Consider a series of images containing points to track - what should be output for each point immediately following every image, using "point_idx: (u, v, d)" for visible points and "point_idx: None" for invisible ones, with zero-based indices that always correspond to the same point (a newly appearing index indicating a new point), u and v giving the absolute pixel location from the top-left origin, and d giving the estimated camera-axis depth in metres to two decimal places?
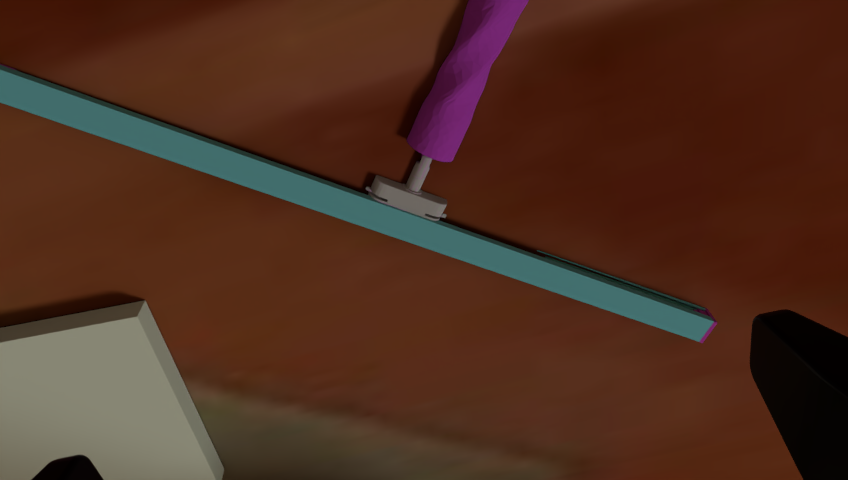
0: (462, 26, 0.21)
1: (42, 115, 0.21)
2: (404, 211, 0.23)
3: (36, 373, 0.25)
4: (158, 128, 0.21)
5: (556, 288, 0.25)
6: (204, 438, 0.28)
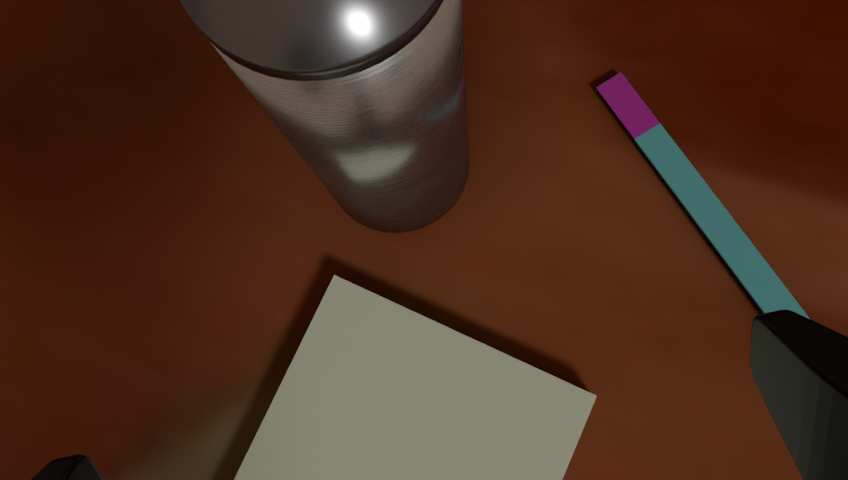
0: None
1: (670, 184, 0.23)
2: None
3: (442, 381, 0.21)
4: (754, 254, 0.22)
5: None
6: None
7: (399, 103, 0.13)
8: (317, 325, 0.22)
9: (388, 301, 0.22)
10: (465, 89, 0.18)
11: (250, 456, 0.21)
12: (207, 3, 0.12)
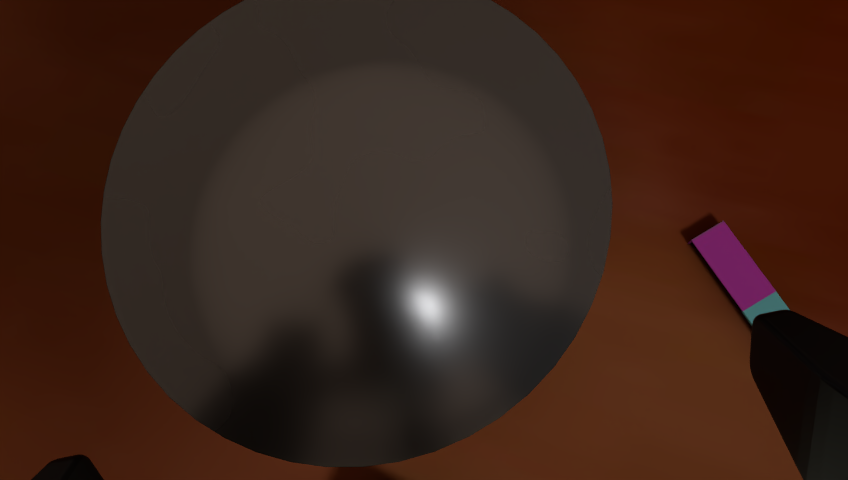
0: None
1: None
2: None
3: None
4: None
5: None
6: None
7: None
8: None
9: None
10: None
11: None
12: (166, 325, 0.07)
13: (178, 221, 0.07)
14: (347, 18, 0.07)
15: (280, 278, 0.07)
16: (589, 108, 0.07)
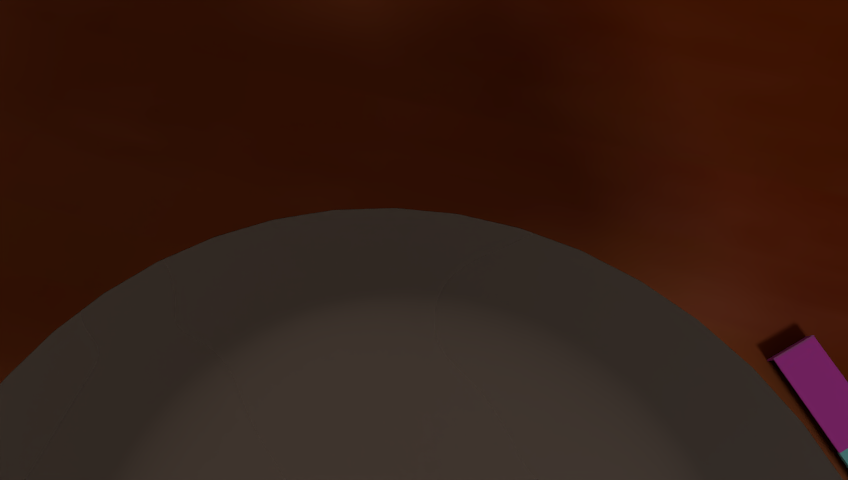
0: None
1: None
2: None
3: None
4: None
5: None
6: None
7: None
8: None
9: None
10: None
11: None
12: None
13: None
14: (353, 318, 0.04)
15: None
16: None
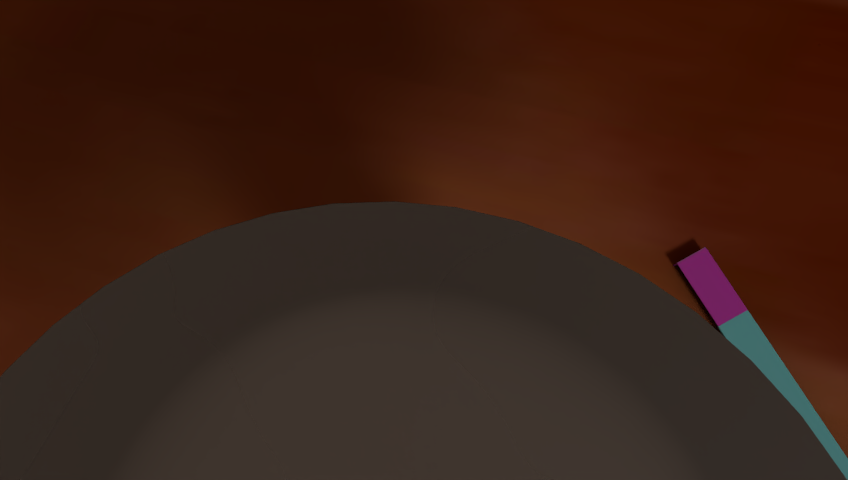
0: None
1: None
2: None
3: None
4: None
5: None
6: None
7: None
8: None
9: None
10: None
11: None
12: None
13: None
14: (351, 310, 0.03)
15: None
16: None
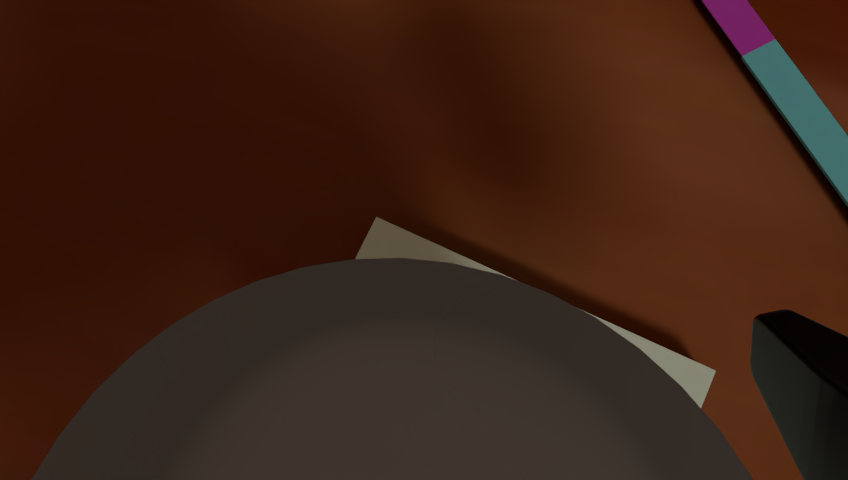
0: None
1: (785, 114, 0.18)
2: None
3: None
4: None
5: None
6: None
7: None
8: None
9: (445, 250, 0.17)
10: None
11: None
12: None
13: None
14: (369, 345, 0.04)
15: None
16: None
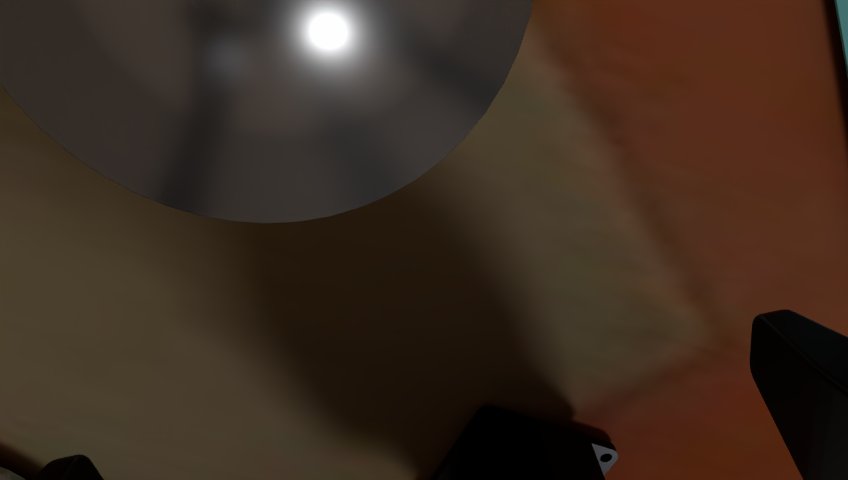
0: None
1: None
2: None
3: None
4: None
5: None
6: None
7: None
8: None
9: None
10: None
11: None
12: (72, 106, 0.06)
13: None
14: None
15: (185, 58, 0.06)
16: None
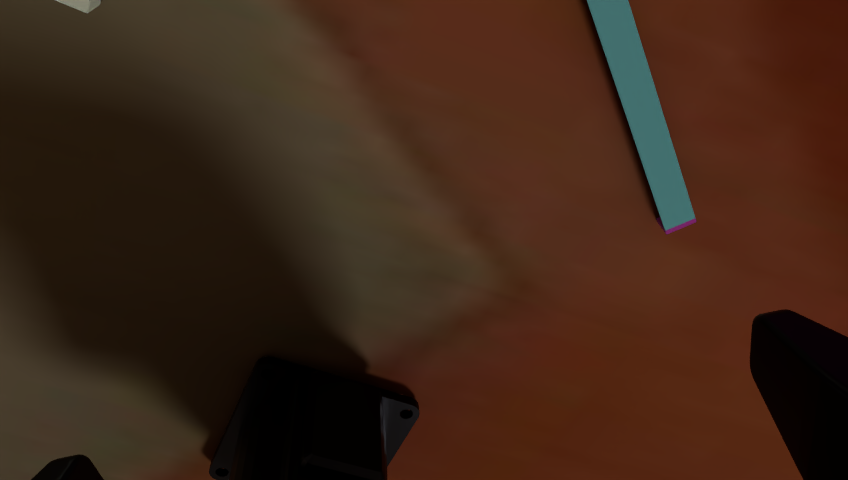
0: None
1: None
2: None
3: None
4: None
5: (609, 54, 0.20)
6: None
7: None
8: None
9: None
10: None
11: None
12: None
13: None
14: None
15: None
16: None
